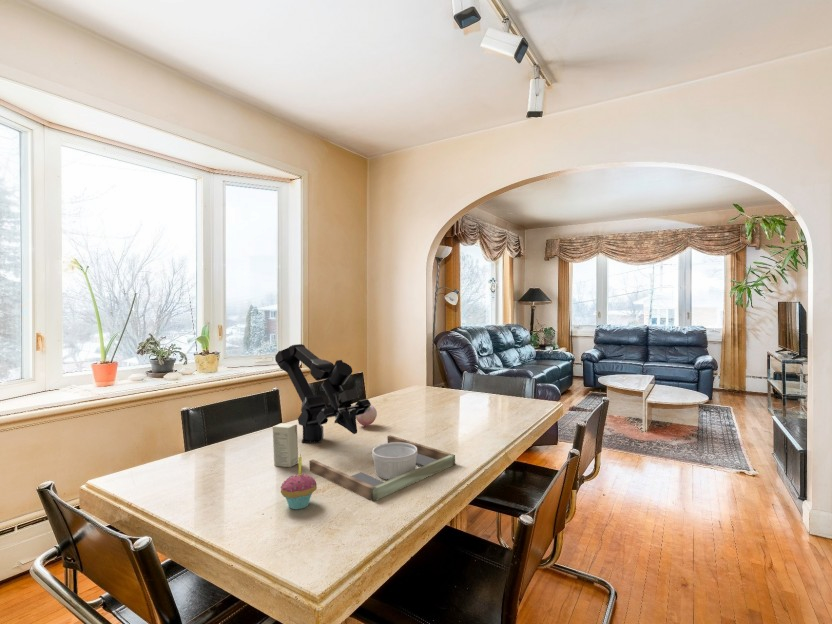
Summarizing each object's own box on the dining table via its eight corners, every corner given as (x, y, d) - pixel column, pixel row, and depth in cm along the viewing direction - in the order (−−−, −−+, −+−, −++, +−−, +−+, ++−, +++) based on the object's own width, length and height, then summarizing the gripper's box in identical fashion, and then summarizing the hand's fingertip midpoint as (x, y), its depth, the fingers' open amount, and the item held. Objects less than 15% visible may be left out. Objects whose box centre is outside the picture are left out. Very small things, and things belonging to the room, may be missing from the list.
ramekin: (364, 478, 119) (363, 454, 119) (384, 462, 132) (383, 440, 132) (407, 485, 115) (407, 459, 115) (424, 467, 127) (423, 444, 127)
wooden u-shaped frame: (309, 470, 126) (309, 460, 125) (390, 443, 149) (389, 435, 149) (373, 501, 105) (373, 489, 105) (455, 464, 129) (455, 454, 129)
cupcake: (285, 497, 108) (284, 451, 108) (319, 496, 109) (318, 449, 108) (277, 514, 99) (276, 463, 99) (314, 512, 100) (313, 462, 100)
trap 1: (344, 481, 117) (344, 478, 117) (361, 475, 122) (361, 472, 122) (367, 492, 110) (367, 489, 110) (384, 485, 115) (384, 482, 115)
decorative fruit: (381, 427, 169) (380, 402, 168) (362, 431, 164) (362, 405, 164) (369, 422, 176) (369, 398, 176) (352, 425, 172) (351, 401, 172)
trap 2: (400, 459, 133) (400, 457, 133) (414, 454, 138) (414, 452, 138) (424, 468, 126) (424, 465, 126) (437, 462, 131) (437, 459, 131)
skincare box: (299, 462, 132) (298, 423, 132) (290, 468, 128) (289, 427, 127) (281, 460, 134) (281, 422, 134) (272, 465, 130) (272, 426, 130)
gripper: (321, 383, 132) (342, 425, 125) (367, 375, 146) (389, 413, 139) (307, 403, 138) (327, 445, 131) (353, 394, 152) (373, 431, 144)
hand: (355, 433), depth 136 cm, fingers closed
